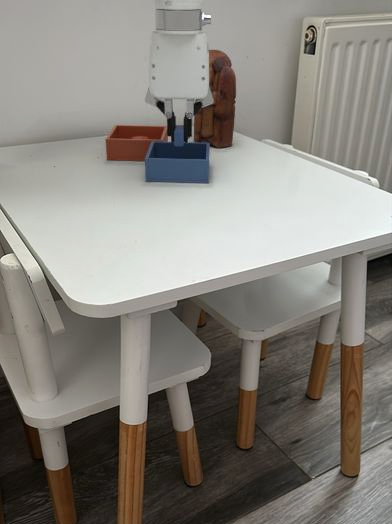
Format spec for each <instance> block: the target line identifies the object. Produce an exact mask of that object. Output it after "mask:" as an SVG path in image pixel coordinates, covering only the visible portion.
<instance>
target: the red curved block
mask: <svg viewBox="0 0 392 524" xmlns="http://www.w3.org/2000/svg"><path fill="white" fill-rule="evenodd" d="M131 139H149V138H148V137H146V136H134V137H132V138H131Z"/></svg>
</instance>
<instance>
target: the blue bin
mask: <svg viewBox="0 0 392 524" xmlns="http://www.w3.org/2000/svg"><path fill="white" fill-rule="evenodd" d="M210 147H211V145H210V143H198V142H195V141H193V142H191V141H188V143H185V142H184V145H183V146H174V142H171V141H168V142H158V141H152V142H151V144H150V147H149V149H148V152H147V155H146V157H145V161H144V174H145V175H144V176H145V182H147V183H182V184H183V183H185V184H186V183H188V184H209V182H210V181H209V180H210V179H209V178H210V154H211V153H210V152H211V151H210V149H211V148H210Z"/></svg>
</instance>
